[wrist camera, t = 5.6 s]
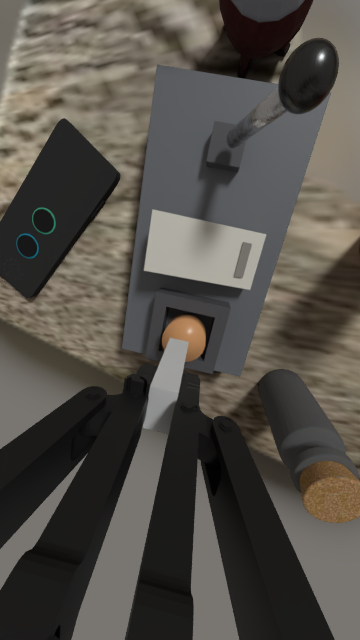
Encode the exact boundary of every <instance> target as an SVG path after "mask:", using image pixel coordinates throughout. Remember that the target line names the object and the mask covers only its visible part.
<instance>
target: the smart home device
mask: <svg viewBox="0 0 360 640" xmlns="http://www.w3.org/2000/svg"><path fill="white" fill-rule="evenodd" d="M119 180H120V173H119V172H118V171H117V170H116V169H115V168H114V167H113V166H112V165H111V164H110V163H109V162H108V161H107V160H106V159H105V158H104V157H103V156H102V155H101V154H100V153H99V152H98V151H97V150H96V149H95V148H94V147H93V146H92V145H91V143H90V142H89V141H88V140H87V139H86V138H85V137H84V136H83V135H82V134H81V133H80V132H79V131H78V130H77V129H76V128H75V127H74V126H73V125H72V124H71V123H70V122H69V121H67V120H66V119H61V120H60V121H59V122H58V124H57V125H56V127H55V128H54V130H53V132H52V133H51V135H50V137H49V139H48V140H47V142H46V144H45V146H44V147H43V149H42V151H41V152H40V154H39V156H38V158H37V159H36V161H35V163H34V165H33V166H32V168H31V170H30V171H29V173H28V175H27V177H26V178H25V180H24V182H23V183H22V185H21V187H20V189H19V190H18V192H17V194H16V196H15V197H14V199H13V201H12V202H11V204H10V206H9V208H8V209H7V211H6V213H5V215H4V216H3V218H2V220H1V221H0V275H1V276H2V277H3V278H4V279H5V280H6V281H8V282H9V283H10V284H11V285H12V286H13V287H14V288H16V289H17V290H18V291H19V292H20V293H21V294H22V295H24V296H25V297H26V298H29V297H33V296H36V295H37V294H38V293H39V292H40V290H41V289H42V288H43V286H44V285H45V284H46V282H47V281H48V279H49V278H50V277H51V275H52V274H53V273H54V271H55V270H56V268H57V267H58V266H59V264H60V263H61V261H62V260H63V259H64V257H65V256H66V255H67V253H68V252H69V250H70V249H71V248H72V246H73V245H74V244H75V242H76V241H77V239H78V238H79V237H80V235H81V234H82V232H83V231H84V230H85V228H86V227H87V226H88V224H89V223H90V221H91V220H92V219H94V217H95V216H96V215H97V213H98V212H99V210H100V209H101V208H102V206H103V205H104V204H105V201H106V199H107V198H108V197H109V195H110V194H111V192H112V191H113V190H114V188H115V187H116V186H117V184H118V182H119Z"/></svg>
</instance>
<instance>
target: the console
mask: <svg viewBox="0 0 360 640" xmlns="http://www.w3.org/2000/svg"><path fill="white" fill-rule="evenodd" d="M277 87H278V84H274V83H268V82H261V81H255V80H249V79H243V78H237V77H230V76H224V75H218V74H212V73H206V72H200V71H193V70H187V69H181V68H175V67H169V66H162V65H157V69H156V77H155V85H154V93H153V101H152V109H151V117H150V125H149V133H148V141H147V149H146V157H145V166H144V174H143V182H142V190H141V198H140V206H139V214H138V222H137V230H136V238H135V246H134V254H133V262H132V270H131V278H130V286H129V294H128V302H127V310H126V318H125V326H124V334H123V343H122V349H125V350H130V351H134V352H138V353H142V354H146V357H145V358H146V359H150V360H155V361H159V362H160V361H161V359H162V356H163V354H164V351H165V350H164V348H163V346H162V336H163V333H164V331H165V329H166V327H167V326H168V324H169V322H170V321H171V320H172V319H173V318H174V317H176V316H178V315H181V314H190V315H193V316H195V317H197V318H199V319H200V320H201V321H202V323H203V324H204V326H205V329H206V342H205V348H204V351H203V353H202V354H201V355H200V356H199V357H198V358H197V359H195V360H193V361H189V362H185V364H184V368H188V369H193V370H197V371H201V372H205V373H209V374H213V371H219V372H223V373H227V374H231V375H236V376H240V375H241V372H242V369H243V366H244V363H245V360H246V356H247V353H248V350H249V347H250V344H251V341H252V338H253V335H254V331H255V328H256V325H257V322H258V319H259V316H260V313H261V310H262V307H263V303H264V300H265V297H266V294H267V291H268V288H269V285H270V282H271V278H272V275H273V272H274V269H275V266H276V263H277V260H278V257H279V253H280V250H281V247H282V244H283V241H284V238H285V235H286V232H287V228H288V225H289V222H290V219H291V216H292V213H293V210H294V207H295V204H296V200H297V197H298V194H299V191H300V188H301V185H302V182H303V179H304V175H305V172H306V169H307V166H308V163H309V160H310V157H311V153H312V150H313V147H314V144H315V140H316V138H317V135H318V132H319V129H320V125H321V122H322V119H323V116H324V113H325V110H326V107H327V103H328V100H329V97H330V94H331V93H329V94H328V96H327V97H326V98H325V100H324V101H323V102H322V103H321V104H320V105H319V106H317V107H316V108H315V109H313V110H312V111H310V112H307V113H304V114H292V113H290V112H288V111H287V112H285V113H284V114H283V115H281V116H280V117H278V118H277V119H276V120H274V121H273V122H271V123H270V124H269V125H267V126H266V127H265V128H263V129H262V130H260V131H259V132H258V133H256V134H255V135H253V136H252V137H251V138H249V139H248V140H246V141H245V142H244V143H242V144H241V145H239V146H238V147H236V148H230V147H229V146H228V145H227V142H226V137H227V134H228V132H229V131H230V130H231V129H232V128H233V127H234V126H235V125H236V124H238V123H239V122H240V121H241V120H242V119H243V118H244V117H245V116H246V115H247V114H248V113H249V112H251V111H252V110H253V109H254V108H255V107H256V106H257V105H258V104H259V103H260V102H261V101H262V100H264V99H265V98H266V97H267V96H268V95H269V94H270V93H271V92H272V91H273V90H274V89H275V88H277ZM152 209H153V210H158V211H163V212H167V213H172V214H176V215H181V216H185V217H190V218H194V219H199V220H203V221H208V222H213V223H217V224H222V225H226V226H231V227H235V228H240V229H244V230H249V231H254V232H258V233H263V234H266V238H265V241H264V245H263V248H262V251H261V255H260V258H259V262H258V265H257V268H256V272H255V275H254V278H253V282H252V285H251V289H250V290H248V289H242V288H237V287H231V286H226V285H220V284H215V283H209V282H204V281H198V280H193V279H187V278H182V277H176V276H171V275H165V274H160V273H154V272H149V271H144V266H145V259H146V252H147V245H148V237H149V230H150V223H151V216H152Z"/></svg>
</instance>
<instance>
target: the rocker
mask: <svg viewBox="0 0 360 640" xmlns="http://www.w3.org/2000/svg"><path fill="white" fill-rule="evenodd" d="M265 238H266V234H263V233H258V232H254V231H249V230H244V229H240V228H235V227H231V226H226V225H222V224H217V223H213V222H208V221H203V220H199V219H194V218H190V217H185V216H181V215H176V214H172V213H167V212H163V211H158V210H153V209H152V216H151V223H150V230H149V237H148V245H147V252H146V259H145V266H144V271H149V272H154V273H160V274H165V275H171V276H176V277H182V278H187V279H193V280H198V281H204V282H209V283H215V284H220V285H226V286H231V287H237V288H242V289H248V290H250V289H251V285H252V282H253V278H254V275H255V272H256V268H257V265H258V262H259V258H260V255H261V251H262V248H263V245H264V241H265Z"/></svg>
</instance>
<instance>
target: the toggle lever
mask: <svg viewBox="0 0 360 640" xmlns="http://www.w3.org/2000/svg"><path fill="white" fill-rule="evenodd" d="M338 67H339V58H338V54H337V50H336V48H335V46H334V45H333V44H332V43H331V42H330V41H328V40H327V39H324V38H314V39H311V40H308V41H306V42H304V43H303V44H301V45H300V46H299V47H298V48H296V49H295V50H294V52H293V53H292V54H291V55H290V57H289V58H288V59H287V61H286V63H285V65H284V67H283V69H282V72H281V75H280V79H279V84H278V87H277V88H275V89H274V90H273V91H272V92H271V93H270V94H269V95H268V96H267V97H266V98H265V99H264V100H262V101H261V102H260V103H259V104H258V105H257V106H256V107H255V108H254V109H253V110H252V111H251V112H249V113H248V114H247V115H246V116H245V117H244V118H243V119H242V120H241V121H240V122H239V123H238V124H236V125H235V126H234V127H233V128H232V129H231V130H230V131H229V132H228V134H227V137H226V142H227V145H228V146H229V147H230V148H236V147H238V146H239V145H241V144H242V143H244V142H245V141H246V140H248V139H249V138H251V137H252V136H253V135H255V134H256V133H258V132H259V131H260V130H262V129H263V128H265V127H266V126H267V125H269V124H270V123H271V122H273V121H274V120H276V119H277V118H278V117H280V116H281V115H283V114H284V113H285V112H287V111H288V112H290V113H292V114H304V113H307V112H310V111H312V110H313V109H315V108H316V107H317V106H319V105H320V104H321V103H322V102H323V101H324V100H325V98H326V97H327V96H328V94H329V93H330V91H331V89H332V87H333V85H334V83H335V80H336V77H337V74H338Z"/></svg>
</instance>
